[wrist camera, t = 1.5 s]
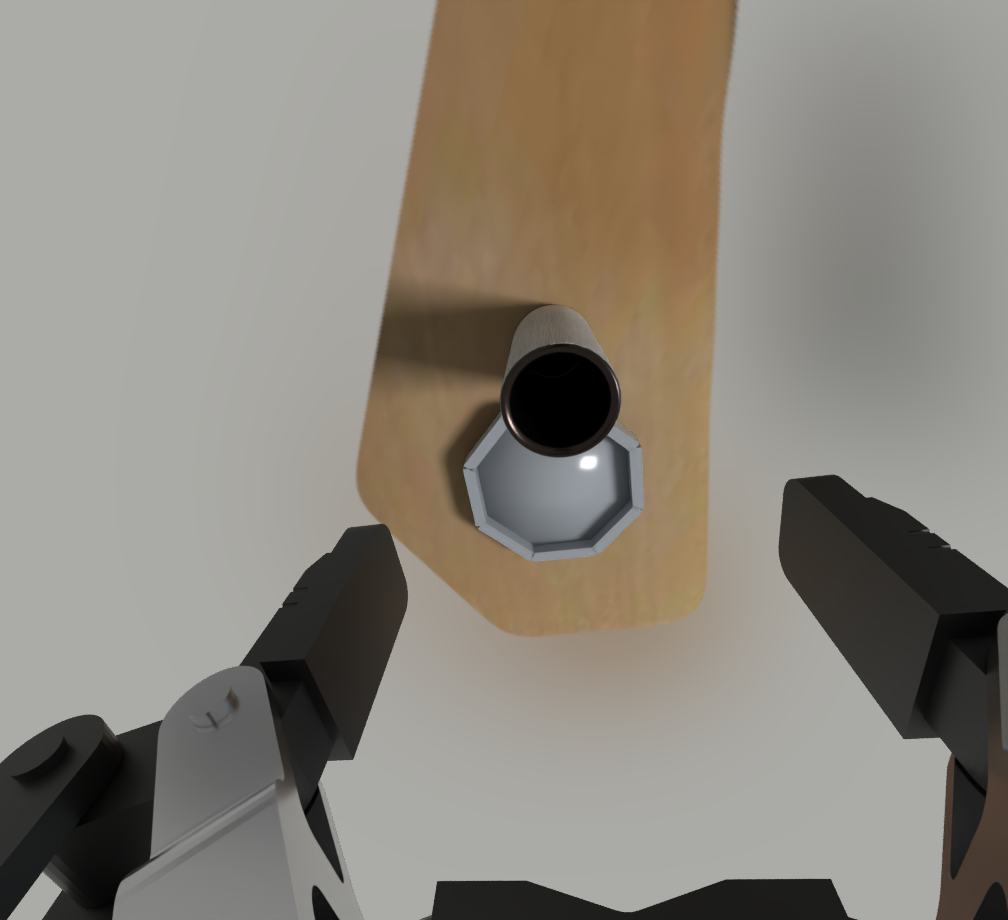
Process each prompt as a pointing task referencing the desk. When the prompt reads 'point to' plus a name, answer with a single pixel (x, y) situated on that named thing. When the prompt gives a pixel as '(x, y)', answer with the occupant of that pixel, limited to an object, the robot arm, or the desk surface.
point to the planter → (558, 385)
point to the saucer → (554, 494)
